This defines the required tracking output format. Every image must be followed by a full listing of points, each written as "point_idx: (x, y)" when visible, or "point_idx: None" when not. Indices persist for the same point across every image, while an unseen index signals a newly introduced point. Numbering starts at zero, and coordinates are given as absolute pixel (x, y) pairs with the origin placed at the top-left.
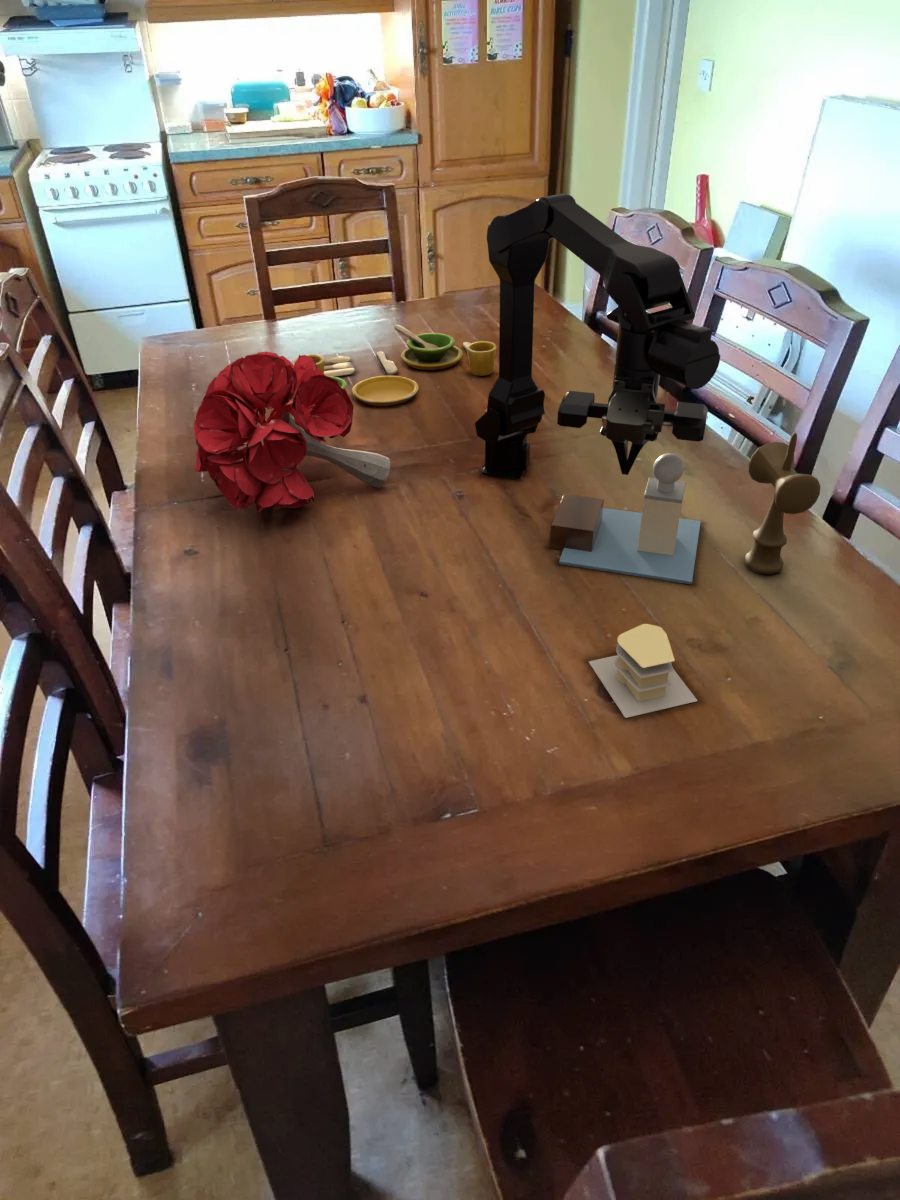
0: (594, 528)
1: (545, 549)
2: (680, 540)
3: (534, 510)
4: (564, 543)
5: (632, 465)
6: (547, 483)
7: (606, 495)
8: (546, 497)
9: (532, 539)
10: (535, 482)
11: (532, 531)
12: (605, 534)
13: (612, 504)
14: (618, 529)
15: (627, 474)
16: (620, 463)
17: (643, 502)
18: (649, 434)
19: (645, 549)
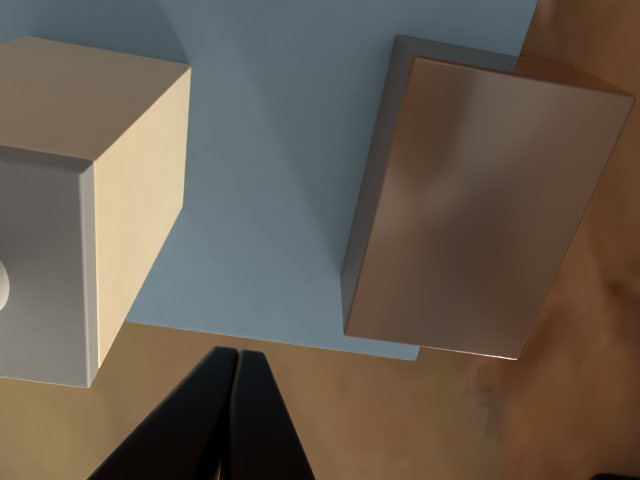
0: (405, 84)
1: (593, 58)
2: None
3: (581, 324)
4: (525, 61)
5: (159, 403)
6: (506, 464)
7: (317, 421)
8: (523, 397)
9: (633, 132)
10: (545, 466)
11: (619, 190)
12: (328, 179)
13: (297, 377)
14: (275, 218)
15: (217, 346)
16: (279, 421)
17: (107, 151)
18: None
19: (151, 59)
